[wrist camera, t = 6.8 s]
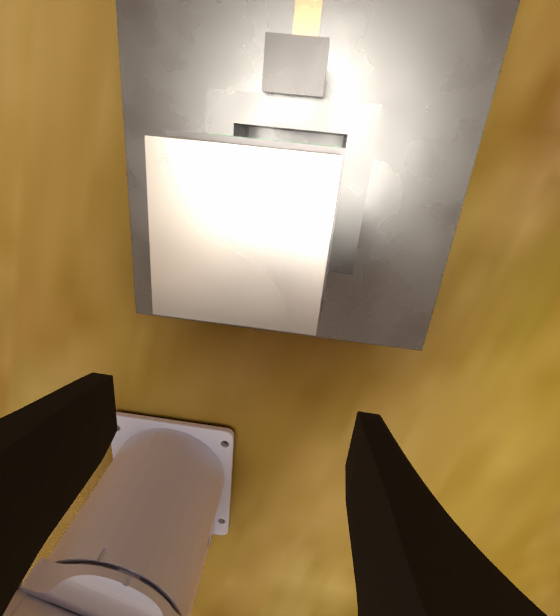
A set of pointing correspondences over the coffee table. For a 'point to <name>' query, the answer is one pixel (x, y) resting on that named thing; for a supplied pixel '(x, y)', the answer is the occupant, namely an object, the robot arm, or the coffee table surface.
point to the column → (241, 228)
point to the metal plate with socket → (329, 126)
